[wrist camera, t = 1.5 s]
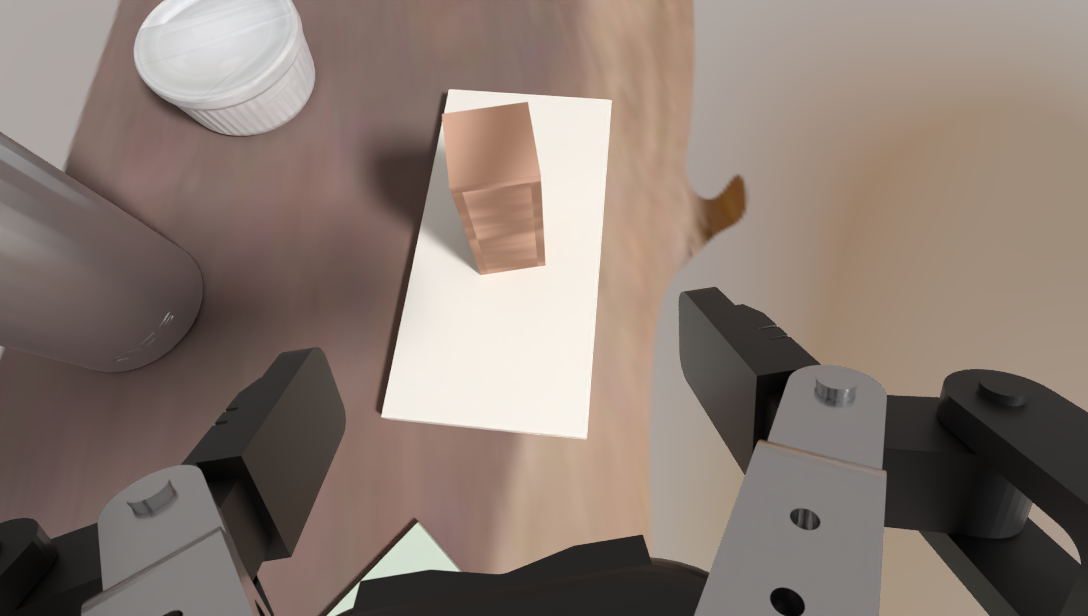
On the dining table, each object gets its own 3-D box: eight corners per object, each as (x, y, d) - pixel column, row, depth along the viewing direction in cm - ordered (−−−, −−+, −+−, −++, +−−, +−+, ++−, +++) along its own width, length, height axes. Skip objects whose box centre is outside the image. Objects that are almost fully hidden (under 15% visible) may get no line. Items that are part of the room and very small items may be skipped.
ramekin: (269, 13, 42) (231, -50, 37) (359, 82, 40) (331, 24, 35) (156, 97, 40) (98, 40, 35) (243, 176, 37) (195, 128, 32)
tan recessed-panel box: (480, 275, 33) (449, 188, 23) (473, 217, 34) (441, 113, 25) (545, 265, 33) (540, 174, 23) (536, 208, 34) (527, 101, 25)
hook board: (451, 99, 39) (429, 18, 32) (610, 109, 38) (621, 29, 31) (386, 418, 31) (339, 399, 24) (585, 439, 30) (593, 425, 23)
